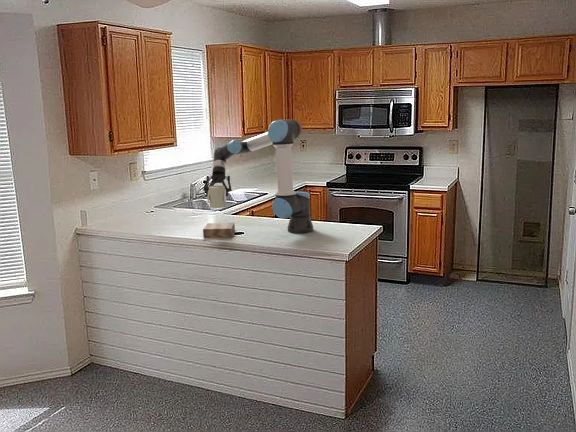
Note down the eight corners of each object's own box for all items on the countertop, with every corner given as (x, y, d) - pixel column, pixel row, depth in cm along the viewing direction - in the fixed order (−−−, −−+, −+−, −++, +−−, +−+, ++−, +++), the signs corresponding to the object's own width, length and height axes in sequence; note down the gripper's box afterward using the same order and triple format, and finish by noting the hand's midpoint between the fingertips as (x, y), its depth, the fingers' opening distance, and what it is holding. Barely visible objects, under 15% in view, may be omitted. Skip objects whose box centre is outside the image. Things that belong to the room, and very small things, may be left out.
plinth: (234, 230, 334) (234, 222, 333) (231, 237, 318) (231, 228, 317) (208, 231, 334) (207, 223, 333) (203, 237, 318) (202, 229, 317)
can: (218, 204, 329) (216, 184, 327) (229, 206, 324) (228, 185, 321) (206, 207, 322) (205, 186, 320) (217, 208, 317) (216, 187, 314)
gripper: (238, 172, 334) (236, 204, 322) (202, 173, 335) (198, 204, 322) (236, 165, 328) (234, 196, 316) (199, 165, 329) (196, 197, 316)
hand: (216, 200), depth 319 cm, fingers closed on can, 9 cm apart
